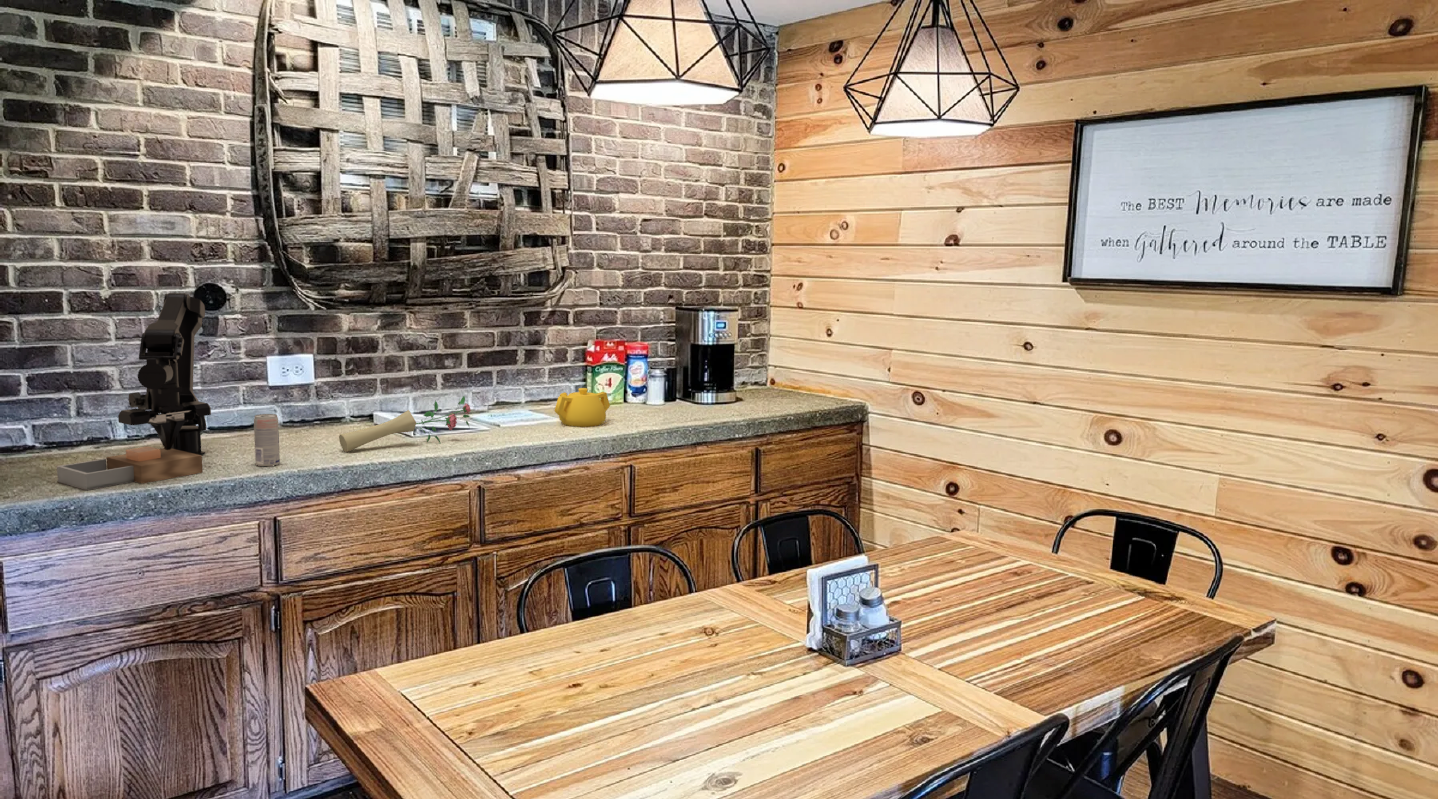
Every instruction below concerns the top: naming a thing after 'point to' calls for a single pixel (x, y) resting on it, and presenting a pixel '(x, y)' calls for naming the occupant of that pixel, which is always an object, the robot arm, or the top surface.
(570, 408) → the teapot
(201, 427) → the robot arm
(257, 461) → the energy drink
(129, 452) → the terracotta tile
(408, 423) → the flower vase
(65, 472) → the box
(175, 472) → the walnut board
